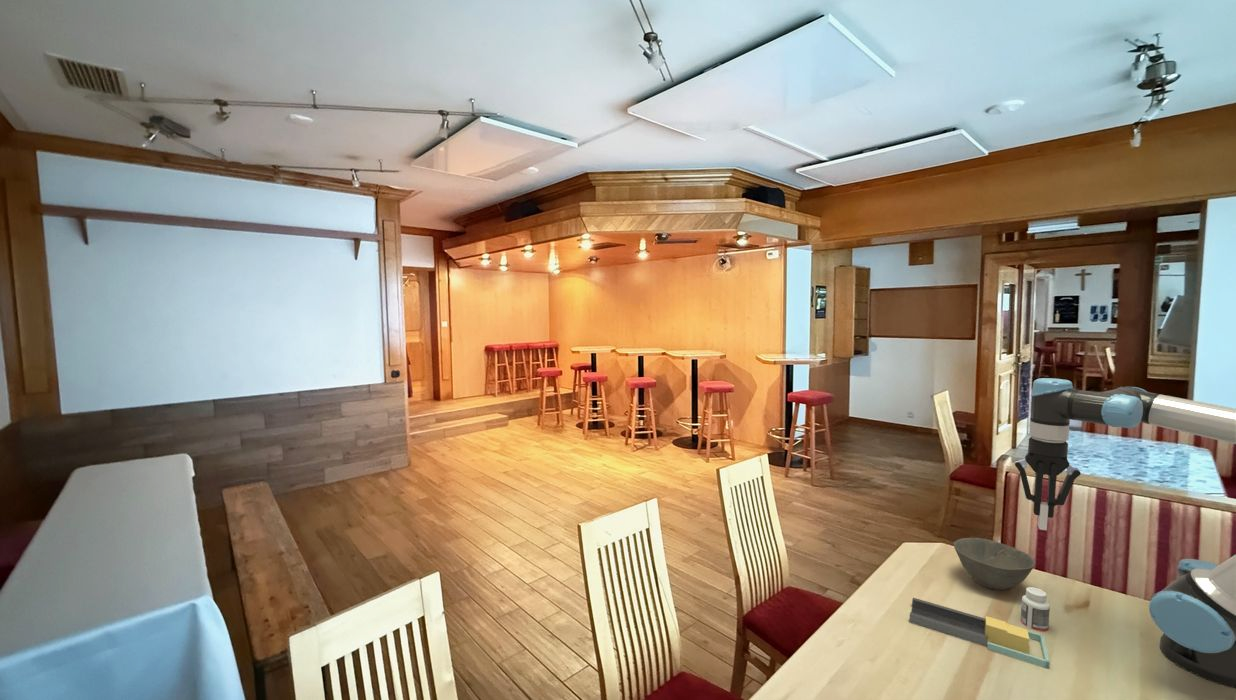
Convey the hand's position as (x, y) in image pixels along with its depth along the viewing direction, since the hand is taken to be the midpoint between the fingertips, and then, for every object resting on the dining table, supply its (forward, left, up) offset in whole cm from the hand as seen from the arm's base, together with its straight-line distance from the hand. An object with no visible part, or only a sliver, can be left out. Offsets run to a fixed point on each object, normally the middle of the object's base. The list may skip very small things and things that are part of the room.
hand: (1042, 527), depth 125 cm
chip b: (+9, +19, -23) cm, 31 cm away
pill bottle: (+1, +6, -25) cm, 25 cm away
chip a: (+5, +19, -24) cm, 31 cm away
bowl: (+9, -12, -25) cm, 29 cm away
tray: (+6, +19, -24) cm, 31 cm away
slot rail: (+19, +19, -24) cm, 36 cm away
